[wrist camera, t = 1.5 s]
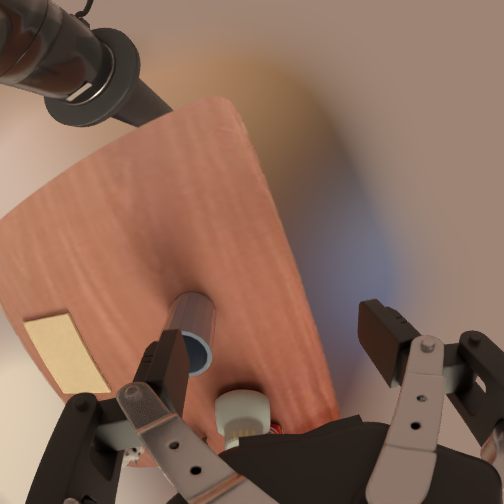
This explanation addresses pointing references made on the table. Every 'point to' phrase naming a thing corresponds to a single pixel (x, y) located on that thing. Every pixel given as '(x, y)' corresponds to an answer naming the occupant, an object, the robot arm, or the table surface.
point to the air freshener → (242, 415)
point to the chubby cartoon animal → (132, 455)
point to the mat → (66, 354)
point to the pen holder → (194, 328)
